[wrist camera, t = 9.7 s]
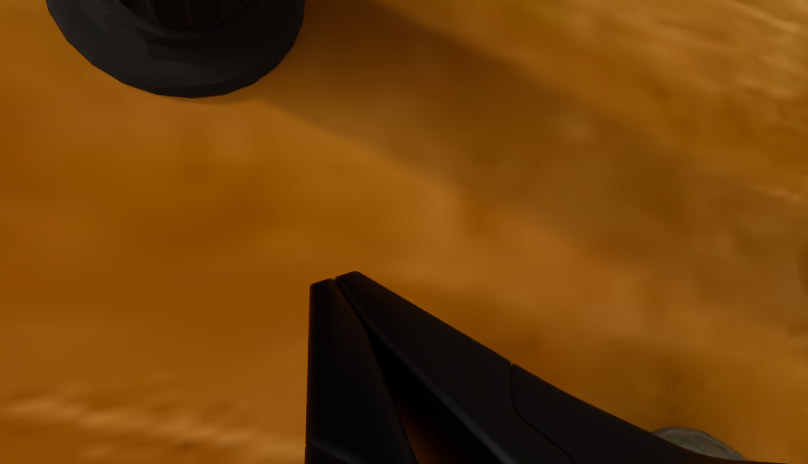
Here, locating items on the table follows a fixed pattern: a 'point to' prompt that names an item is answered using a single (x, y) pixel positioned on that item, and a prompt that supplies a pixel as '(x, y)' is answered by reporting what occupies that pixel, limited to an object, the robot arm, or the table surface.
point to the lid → (697, 442)
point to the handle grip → (181, 40)
